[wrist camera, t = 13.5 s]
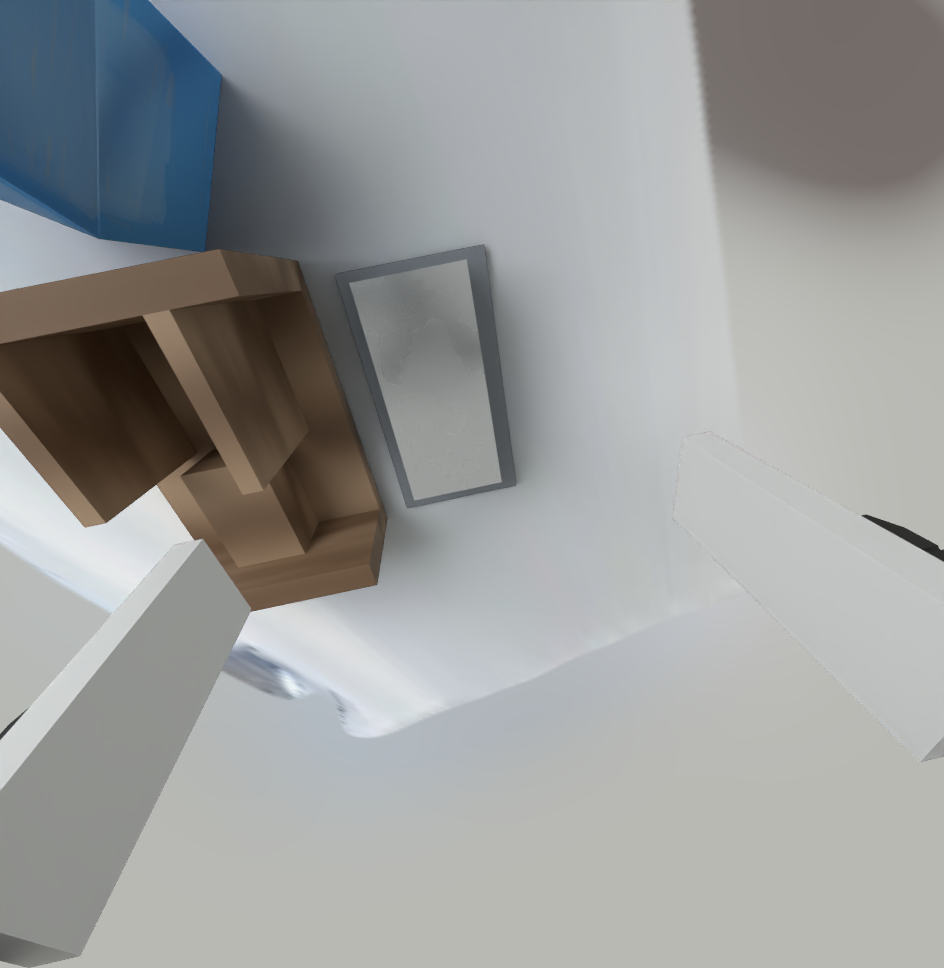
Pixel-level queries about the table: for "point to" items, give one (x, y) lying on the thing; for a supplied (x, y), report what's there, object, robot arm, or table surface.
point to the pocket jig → (198, 415)
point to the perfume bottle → (107, 120)
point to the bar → (431, 375)
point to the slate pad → (488, 350)
